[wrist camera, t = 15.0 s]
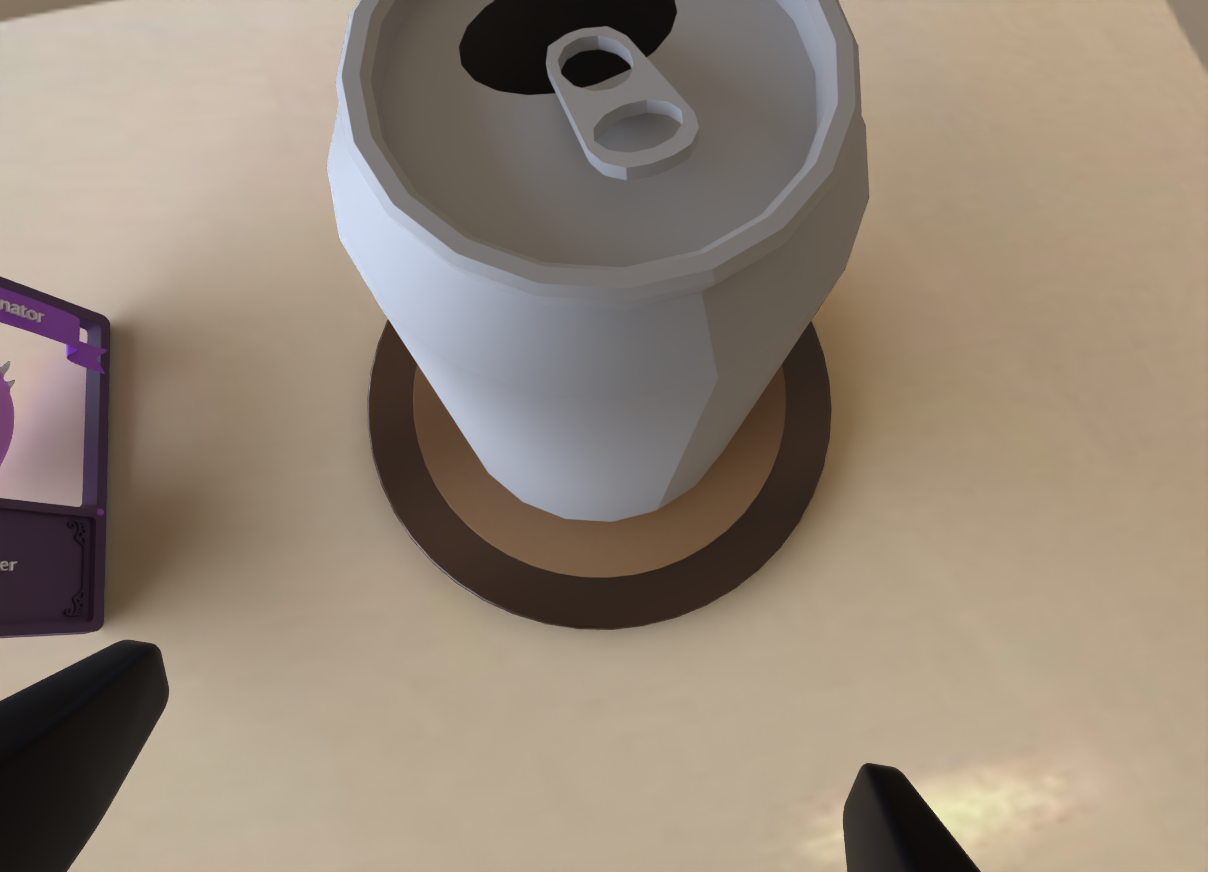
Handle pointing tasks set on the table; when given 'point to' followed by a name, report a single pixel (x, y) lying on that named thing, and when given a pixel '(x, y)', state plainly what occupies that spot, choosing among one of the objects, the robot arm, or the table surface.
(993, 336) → the table surface
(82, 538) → the game card
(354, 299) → the table surface
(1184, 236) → the table surface
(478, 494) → the coaster
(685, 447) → the can
